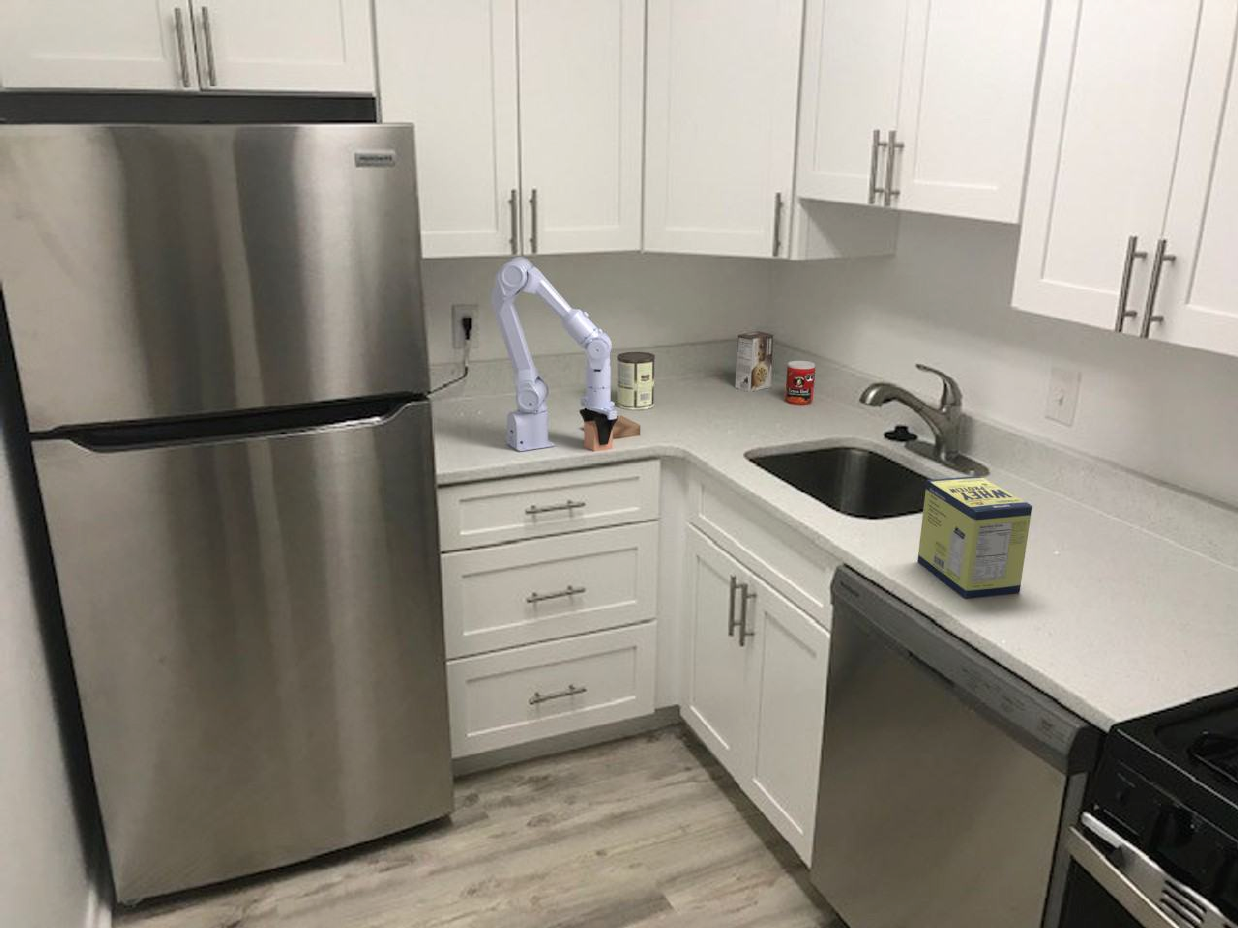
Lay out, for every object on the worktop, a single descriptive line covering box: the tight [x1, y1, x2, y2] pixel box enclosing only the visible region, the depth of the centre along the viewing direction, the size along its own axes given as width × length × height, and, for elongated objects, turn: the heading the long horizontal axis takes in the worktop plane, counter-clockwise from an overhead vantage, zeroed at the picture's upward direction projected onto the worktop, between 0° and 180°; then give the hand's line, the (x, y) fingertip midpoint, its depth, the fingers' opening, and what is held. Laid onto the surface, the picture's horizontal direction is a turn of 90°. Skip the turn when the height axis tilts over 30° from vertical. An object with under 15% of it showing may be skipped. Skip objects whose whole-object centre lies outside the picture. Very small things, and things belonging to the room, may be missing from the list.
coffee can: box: [617, 351, 656, 411], centre depth 266 cm, size 10×10×14 cm
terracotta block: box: [583, 421, 614, 452], centre depth 231 cm, size 5×5×6 cm
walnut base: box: [613, 415, 641, 440], centre depth 243 cm, size 10×10×3 cm
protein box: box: [916, 475, 1033, 599], centre depth 163 cm, size 10×16×16 cm
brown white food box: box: [735, 330, 774, 393], centre depth 286 cm, size 9×6×16 cm
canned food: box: [784, 360, 816, 406], centre depth 272 cm, size 8×8×11 cm
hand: (598, 441), depth 232 cm, fingers closed on terracotta block, 5 cm apart
